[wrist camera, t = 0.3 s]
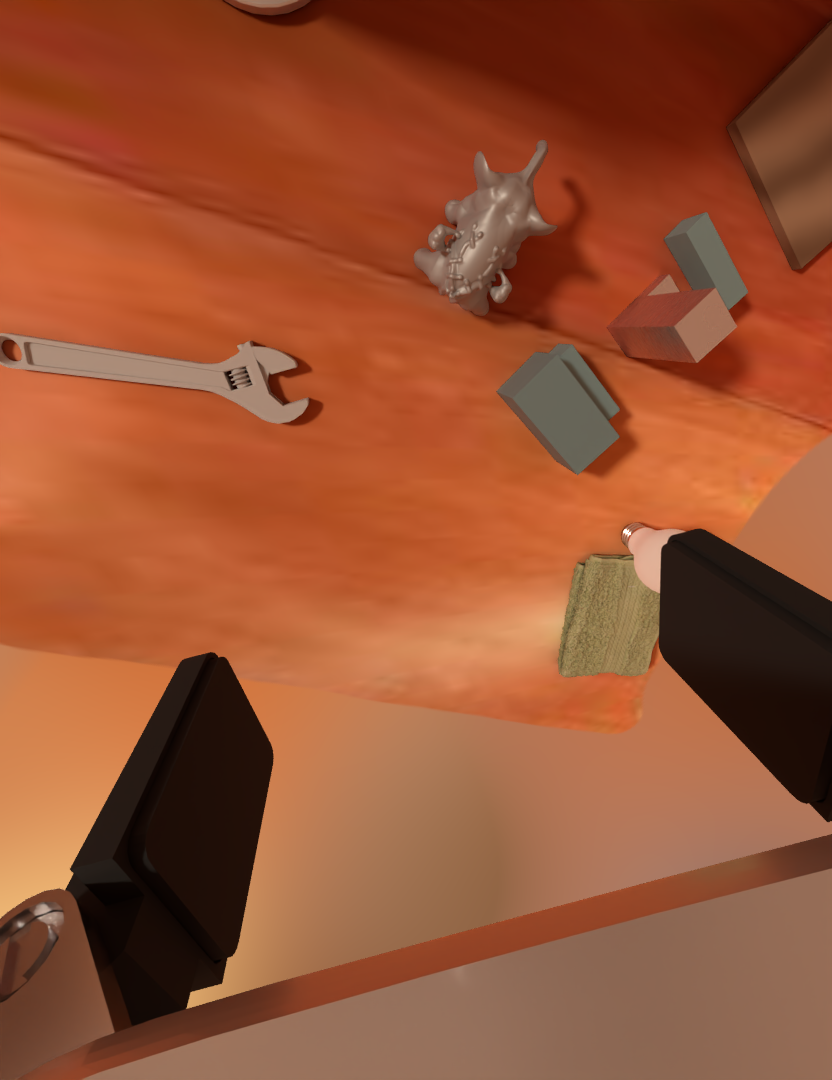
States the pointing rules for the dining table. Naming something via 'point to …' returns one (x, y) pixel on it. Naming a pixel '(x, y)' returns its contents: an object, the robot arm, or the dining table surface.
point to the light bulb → (647, 551)
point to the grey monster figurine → (484, 235)
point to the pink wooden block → (672, 323)
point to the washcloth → (608, 620)
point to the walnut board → (793, 150)
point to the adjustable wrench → (167, 371)
